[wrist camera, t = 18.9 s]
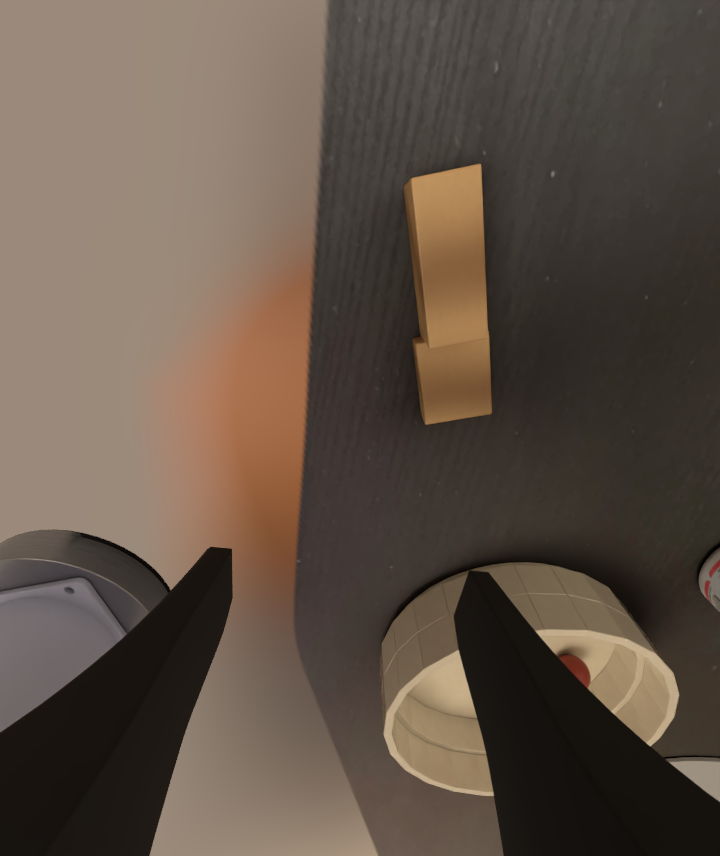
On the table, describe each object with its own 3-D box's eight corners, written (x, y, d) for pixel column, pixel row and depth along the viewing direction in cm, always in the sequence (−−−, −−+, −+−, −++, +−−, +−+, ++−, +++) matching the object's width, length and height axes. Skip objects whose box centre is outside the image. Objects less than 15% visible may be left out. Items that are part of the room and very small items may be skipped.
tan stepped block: (392, 188, 16) (399, 180, 13) (474, 170, 15) (493, 160, 13) (421, 415, 20) (429, 437, 18) (485, 404, 20) (501, 425, 17)
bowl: (401, 728, 32) (409, 808, 28) (356, 582, 25) (356, 658, 20) (615, 699, 31) (660, 779, 26) (634, 535, 23) (700, 606, 19)
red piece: (603, 689, 26) (581, 693, 25) (575, 692, 27) (554, 695, 26) (589, 651, 27) (567, 652, 26) (562, 655, 28) (541, 657, 27)
